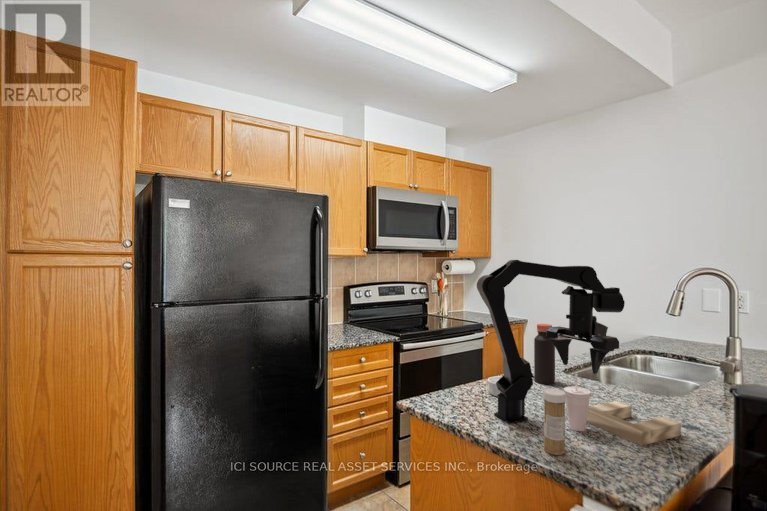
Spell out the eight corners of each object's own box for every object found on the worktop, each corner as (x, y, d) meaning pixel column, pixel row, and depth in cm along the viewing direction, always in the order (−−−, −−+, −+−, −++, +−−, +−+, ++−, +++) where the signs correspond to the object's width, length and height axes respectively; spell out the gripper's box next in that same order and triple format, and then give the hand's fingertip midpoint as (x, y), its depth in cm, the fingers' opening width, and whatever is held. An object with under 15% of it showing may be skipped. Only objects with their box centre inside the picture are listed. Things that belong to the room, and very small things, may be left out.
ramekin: (486, 396, 126) (486, 382, 126) (488, 388, 135) (488, 375, 135) (516, 399, 124) (516, 385, 124) (516, 390, 132) (516, 377, 132)
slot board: (641, 445, 93) (641, 432, 93) (580, 419, 108) (580, 408, 108) (680, 435, 98) (680, 423, 98) (617, 411, 114) (617, 400, 114)
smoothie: (559, 428, 102) (559, 373, 103) (569, 421, 107) (569, 368, 107) (586, 436, 98) (585, 378, 98) (595, 428, 102) (594, 373, 103)
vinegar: (557, 385, 138) (557, 326, 138) (536, 384, 139) (536, 326, 139) (552, 379, 144) (552, 323, 144) (532, 378, 145) (532, 323, 146)
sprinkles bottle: (548, 444, 93) (548, 386, 94) (568, 451, 90) (568, 391, 90) (540, 451, 90) (540, 391, 90) (561, 458, 87) (561, 396, 87)
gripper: (633, 315, 105) (632, 375, 104) (572, 306, 121) (571, 358, 121) (605, 317, 100) (603, 379, 100) (545, 308, 117) (544, 361, 116)
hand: (579, 369), depth 109 cm, fingers open, 9 cm apart
